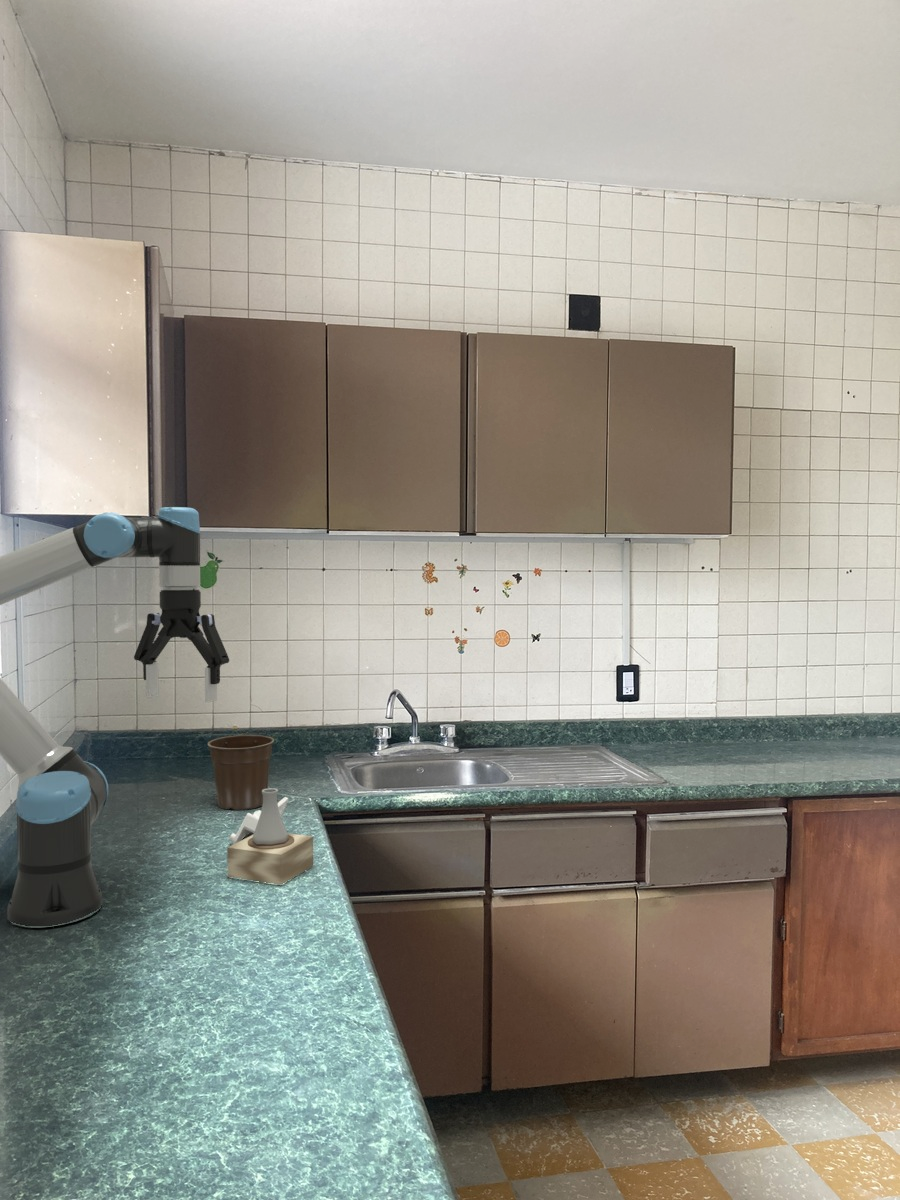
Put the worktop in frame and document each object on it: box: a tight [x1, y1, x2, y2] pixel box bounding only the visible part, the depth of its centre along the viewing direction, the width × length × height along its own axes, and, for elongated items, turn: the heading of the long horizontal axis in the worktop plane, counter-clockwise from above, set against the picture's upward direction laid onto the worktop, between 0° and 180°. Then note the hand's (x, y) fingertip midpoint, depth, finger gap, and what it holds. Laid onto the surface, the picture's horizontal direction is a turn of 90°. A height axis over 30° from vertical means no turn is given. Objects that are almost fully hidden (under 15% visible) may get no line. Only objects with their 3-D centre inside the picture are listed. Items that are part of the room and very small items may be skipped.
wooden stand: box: [226, 832, 314, 884], centre depth 176 cm, size 12×12×6 cm
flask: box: [252, 787, 289, 845], centre depth 176 cm, size 7×7×10 cm
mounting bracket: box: [228, 796, 289, 845], centre depth 197 cm, size 12×6×11 cm, turn 172°
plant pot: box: [207, 734, 275, 811], centre depth 226 cm, size 16×16×16 cm
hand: (181, 699), depth 172 cm, fingers open, 13 cm apart
